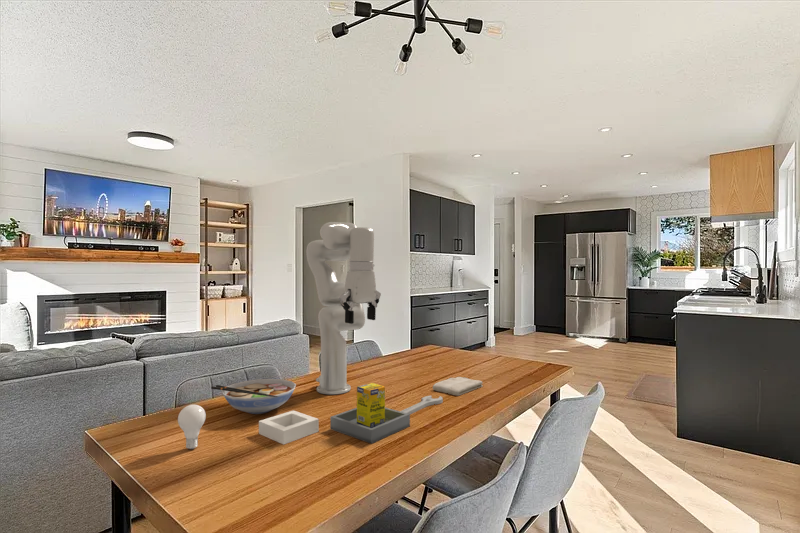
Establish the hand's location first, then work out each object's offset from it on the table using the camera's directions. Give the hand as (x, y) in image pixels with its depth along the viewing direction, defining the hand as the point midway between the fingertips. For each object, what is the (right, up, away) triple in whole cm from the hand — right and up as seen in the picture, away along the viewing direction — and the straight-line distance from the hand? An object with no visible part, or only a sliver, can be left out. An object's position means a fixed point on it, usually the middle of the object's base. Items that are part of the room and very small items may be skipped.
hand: (360, 321), depth 134 cm
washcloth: (+35, -30, +28) cm, 54 cm away
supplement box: (+4, -28, -12) cm, 31 cm away
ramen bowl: (-33, -29, +3) cm, 44 cm away
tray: (+4, -29, -12) cm, 32 cm away
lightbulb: (-40, -29, -27) cm, 56 cm away
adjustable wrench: (+18, -30, +5) cm, 35 cm away
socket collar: (-18, -29, -16) cm, 38 cm away
